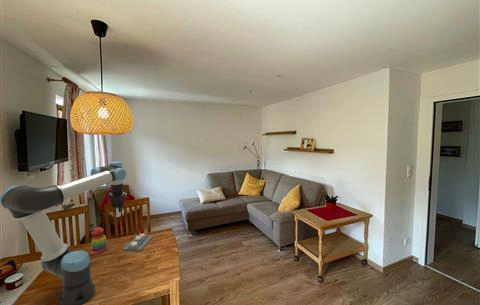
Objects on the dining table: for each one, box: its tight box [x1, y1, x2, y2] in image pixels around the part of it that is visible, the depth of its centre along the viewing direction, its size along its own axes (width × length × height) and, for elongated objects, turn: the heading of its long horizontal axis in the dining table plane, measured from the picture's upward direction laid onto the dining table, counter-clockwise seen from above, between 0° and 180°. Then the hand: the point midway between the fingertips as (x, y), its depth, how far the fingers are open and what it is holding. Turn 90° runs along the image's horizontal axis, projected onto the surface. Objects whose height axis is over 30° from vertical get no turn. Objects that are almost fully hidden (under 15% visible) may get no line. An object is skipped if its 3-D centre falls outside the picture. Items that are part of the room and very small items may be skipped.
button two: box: [135, 235, 141, 242], centre depth 164 cm, size 4×4×3 cm
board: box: [122, 234, 154, 252], centre depth 165 cm, size 20×14×3 cm
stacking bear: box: [89, 226, 108, 256], centre depth 155 cm, size 11×10×18 cm
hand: (118, 216), depth 146 cm, fingers closed
